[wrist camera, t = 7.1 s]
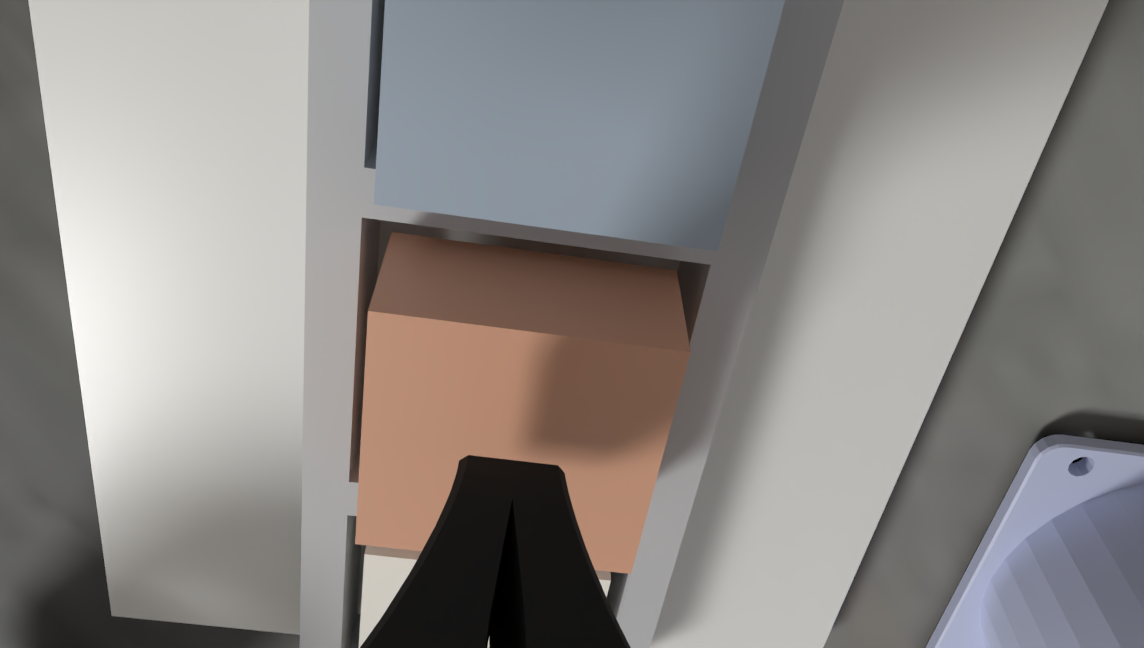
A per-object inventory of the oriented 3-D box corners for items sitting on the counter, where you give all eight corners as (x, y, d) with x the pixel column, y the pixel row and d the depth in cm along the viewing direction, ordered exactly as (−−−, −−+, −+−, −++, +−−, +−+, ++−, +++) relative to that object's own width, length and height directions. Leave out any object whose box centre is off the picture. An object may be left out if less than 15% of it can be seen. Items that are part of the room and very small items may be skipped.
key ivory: (606, 495, 20) (611, 580, 18) (572, 641, 23) (572, 729, 21) (383, 470, 20) (364, 554, 18) (372, 621, 22) (354, 709, 20)
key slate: (779, -146, 13) (814, -109, 11) (699, 177, 15) (717, 251, 13) (420, -208, 12) (395, -180, 10) (398, 134, 15) (374, 204, 13)
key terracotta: (676, 270, 16) (690, 351, 14) (624, 480, 18) (631, 573, 16) (392, 232, 16) (367, 310, 14) (377, 452, 18) (354, 543, 16)
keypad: (1400, -796, 12) (1666, -936, 9) (796, 644, 25) (825, 770, 22) (-70, -1151, 10) (-314, -1457, 7) (130, 575, 24) (71, 700, 21)
